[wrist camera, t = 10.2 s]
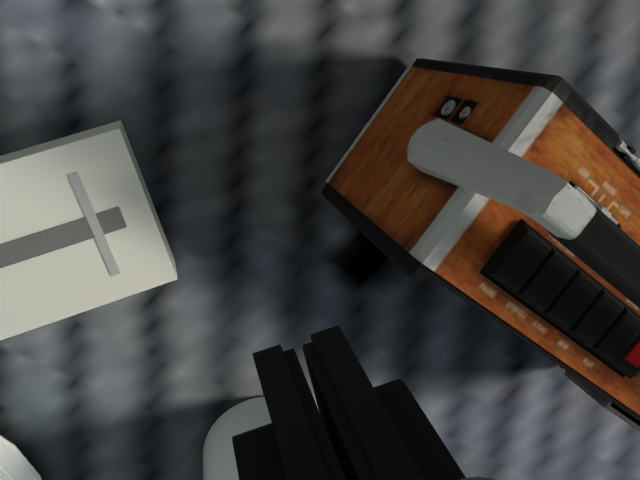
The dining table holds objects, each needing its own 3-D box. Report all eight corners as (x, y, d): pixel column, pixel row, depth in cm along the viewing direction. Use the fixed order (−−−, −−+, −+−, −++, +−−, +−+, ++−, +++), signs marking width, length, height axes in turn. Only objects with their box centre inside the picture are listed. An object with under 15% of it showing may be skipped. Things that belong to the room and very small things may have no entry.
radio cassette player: (298, 177, 38) (442, 317, 20) (398, 38, 37) (646, 54, 19) (576, 371, 50) (825, 569, 32) (658, 270, 49) (964, 417, 31)
